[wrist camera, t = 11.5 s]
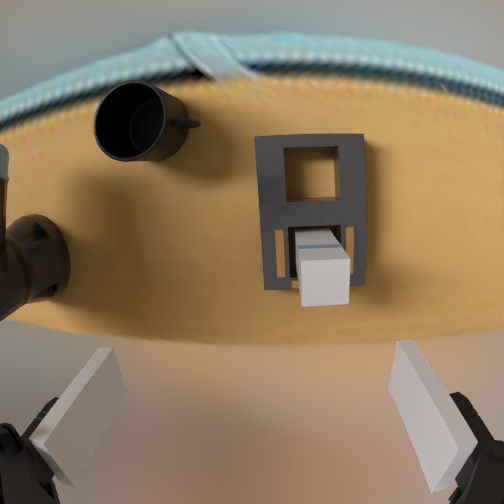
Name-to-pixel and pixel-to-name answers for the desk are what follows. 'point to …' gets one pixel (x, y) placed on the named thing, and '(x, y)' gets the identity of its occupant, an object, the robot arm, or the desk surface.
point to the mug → (140, 123)
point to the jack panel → (311, 204)
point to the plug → (321, 268)
